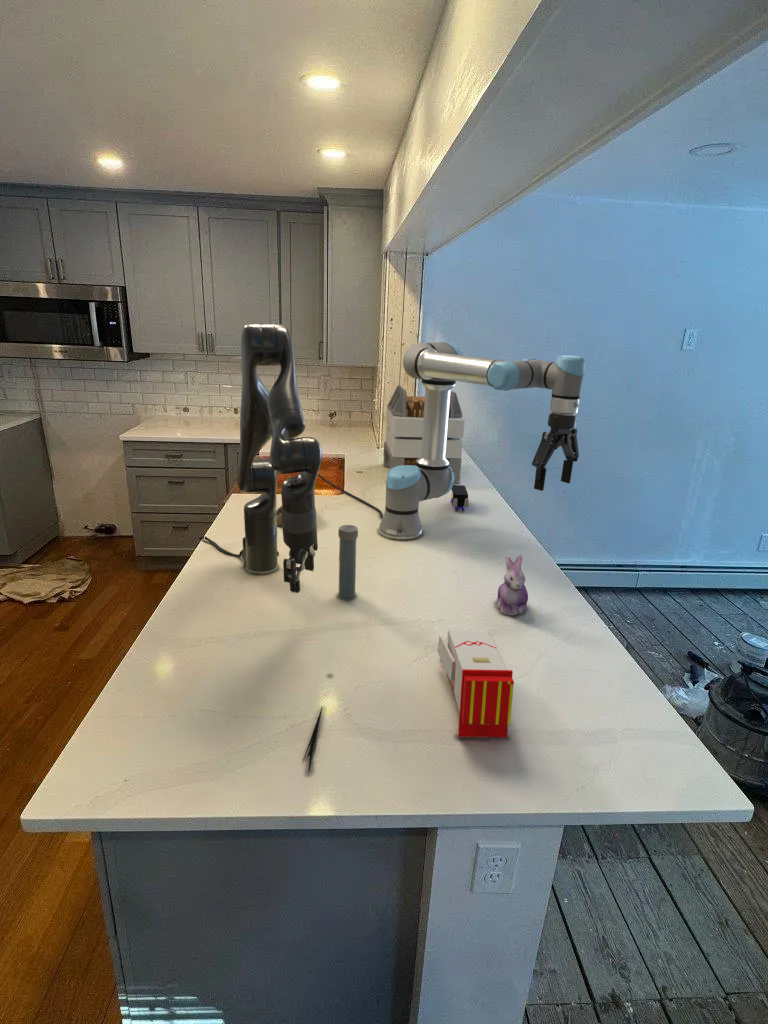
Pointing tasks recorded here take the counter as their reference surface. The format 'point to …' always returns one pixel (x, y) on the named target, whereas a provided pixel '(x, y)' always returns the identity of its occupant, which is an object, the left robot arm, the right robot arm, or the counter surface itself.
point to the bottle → (347, 568)
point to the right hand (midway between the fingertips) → (552, 485)
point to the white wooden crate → (419, 431)
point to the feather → (313, 740)
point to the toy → (478, 682)
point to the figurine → (512, 589)
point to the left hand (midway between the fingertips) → (302, 580)
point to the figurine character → (459, 497)
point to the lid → (348, 532)
